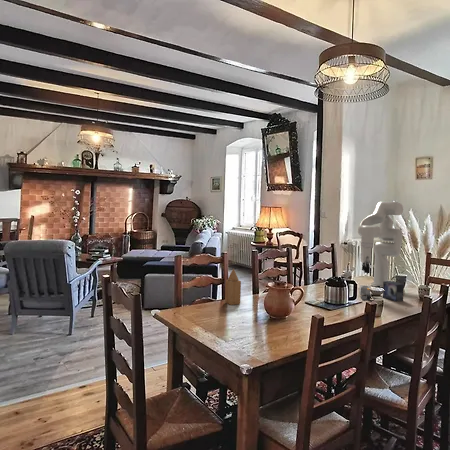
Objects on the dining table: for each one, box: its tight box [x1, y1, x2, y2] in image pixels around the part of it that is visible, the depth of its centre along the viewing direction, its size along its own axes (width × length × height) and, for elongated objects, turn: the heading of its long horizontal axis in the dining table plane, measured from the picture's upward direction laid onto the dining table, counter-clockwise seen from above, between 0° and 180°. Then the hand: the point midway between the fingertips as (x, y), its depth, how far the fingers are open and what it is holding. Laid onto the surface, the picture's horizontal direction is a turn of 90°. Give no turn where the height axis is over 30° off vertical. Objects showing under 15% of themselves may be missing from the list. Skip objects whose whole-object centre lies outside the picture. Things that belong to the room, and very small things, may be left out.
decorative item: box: [224, 268, 242, 306], centre depth 216 cm, size 7×7×20 cm
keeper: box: [360, 288, 371, 301], centre depth 234 cm, size 8×8×6 cm
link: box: [358, 284, 372, 296], centre depth 248 cm, size 6×6×5 cm
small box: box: [382, 280, 405, 303], centre depth 236 cm, size 11×6×10 cm, turn 25°
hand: (365, 271), depth 247 cm, fingers open, 9 cm apart
